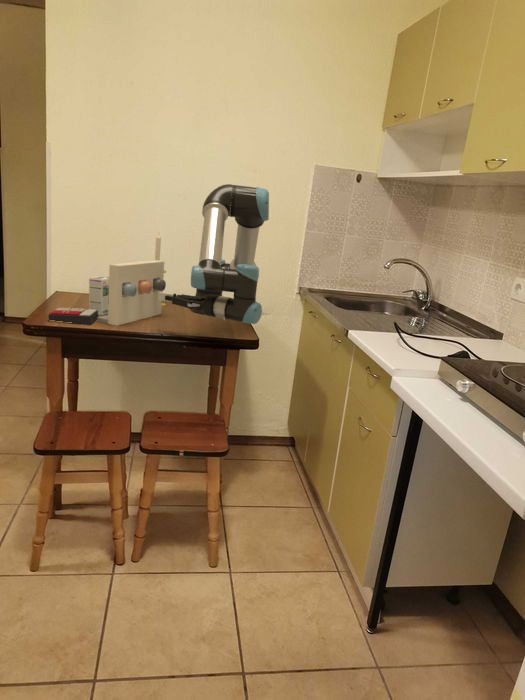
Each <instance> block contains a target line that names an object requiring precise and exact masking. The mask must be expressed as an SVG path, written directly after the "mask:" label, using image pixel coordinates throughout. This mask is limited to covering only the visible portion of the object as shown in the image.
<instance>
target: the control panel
mask: <svg viewBox="0 0 525 700" xmlns="http://www.w3.org/2000/svg"><path fill="white" fill-rule="evenodd" d="M108 270H109V273H108V277H109V304H108V313H107V314H105V315H102V316H98V317H97V321H96V322H98V323H102V324H107V325H111V326H115V327H117V326H121V325H126V324H128V323H133V322H136V321H140V320H143V319H146V318H147V319H148V318H152V317H155V316H158V315H162V311H163V310H162V308H163V306H162V302H163V300H158V294H159V292H164V290H163V291H160V290H154V289H153V279H160V280H164V277H165V276H164V274H165V273H164V270H165V261H162V260H160V261H158V260H155V259H154V260H144V261H143V260H142V261H133V262H123V263H110V264H109V269H108ZM139 281H144V282H150V283H151V285H152V290H151V292H150V293H149V294H147V293H141V292H138V283H139ZM124 283H126V284H132V285H135V286H136V288H137V292H136V295H135V296H133V297H131V296H126V295H122V284H124Z"/></svg>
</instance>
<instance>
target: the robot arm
mask: <svg viewBox="0 0 525 700" xmlns="http://www.w3.org/2000/svg"><path fill="white" fill-rule="evenodd" d="M202 205H203V206H202V210H201V214H202V217H203V218H204V219H203V228H202V235H201V243H200V251H199V261H198V264H197V265H193V266H192V267H191V272H190V273H191V275H190V286H191V288H193V289H196V290H195V291H196V292H195V295H189V294H188V295H187V294H183V293H182V294H177V293H170V292H165V291H163V292H159V294H158V300H162V302H163V301H164V302H169V303H171V305H175V306H180V307H182V308H183V307H184V308H186V309H189V310H191V311H192V312H193V313H197V314H203V315H205V316H208V317H212V318H218V319H222V320H223V321H226V320H230V321H233V322H234V321H235V322H239V323H242V324H249V325H256V324H258V323H259V321H260V320H261V318H262V313H263V310H262V308H263V307H262V304H261V303H260V302H257V297H256V296H257V290H258V289H257V288H258V282H259V278H260V277H259V276H260V267H259V266H257V264H256V262H255V258H256V257H255V256H256V252H257V251H256V250H257V244H258V238H259V233H260V231H259V230H260V227H262V226H263V225H264V223H265V222H267V221H269V220H270V219H269V218H270V217H269V214H270V192H269V191H268V189H266V188H262V187H259V186H257V187H253V186H247V185H246V186H245V185H238V184H237V185H236V184H232V183H230V184H229V183H228V184H223V185H220V186H218V187H216V188H215V189H213V190H212V191H211V192H210V193H209V194H208V195H207V196H206V198H205V200H204V202H203V204H202ZM228 217H230V218H234V221H235V222H236V224H237V230H236V231H237V232H236V240H235V241H236V242H235V247H234V248H235V249H234V257H233V259H232V260H231V261H230V263H226V260H225V259H222V258H223V248H224V247H223V246H224V237H225V236H224V235H225V226H226V225H225V224H226V221H227V220H228ZM223 292H228V293H233V298H232V297H229V296H223Z"/></svg>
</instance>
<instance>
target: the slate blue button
mask: <svg viewBox="0 0 525 700" xmlns="http://www.w3.org/2000/svg"><path fill="white" fill-rule="evenodd" d="M136 292H137V288H136V286H135V285H132V284H126V283H124V284H122V295H126V296H131V297H133V296H135V295H136Z"/></svg>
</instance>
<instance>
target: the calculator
mask: <svg viewBox="0 0 525 700" xmlns="http://www.w3.org/2000/svg"><path fill="white" fill-rule="evenodd" d="M47 317H48V321H49V320H55V321H63V322H72V323H71V324H74V323H79V324H78V325H81V324H87V325H86V326H92V325H93V324H95V323H96V322H97V321H96V320H97V317H99V315H98V310H94V309H89V308H87V309H86V308H79V307H78V308H77V307H76V308H75V307H57V308H56V309H54V310H53V311H51V312H50V313H49V314H48V316H47Z"/></svg>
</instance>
